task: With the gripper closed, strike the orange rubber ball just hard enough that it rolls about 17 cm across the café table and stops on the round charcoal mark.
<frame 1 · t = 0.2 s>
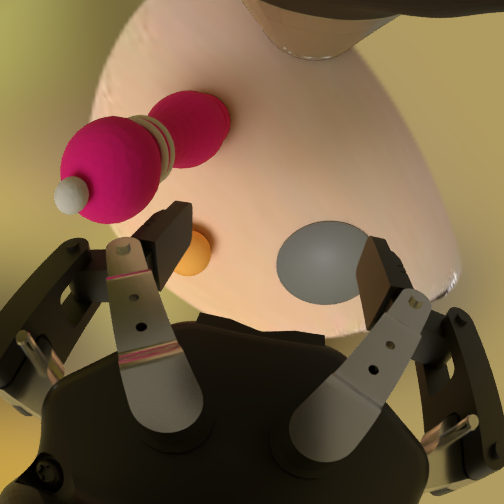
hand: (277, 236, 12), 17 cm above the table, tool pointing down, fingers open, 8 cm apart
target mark: (328, 267, 34), on the table
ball: (188, 253, 32), on the table
pepper mill: (202, 121, 26), on the table
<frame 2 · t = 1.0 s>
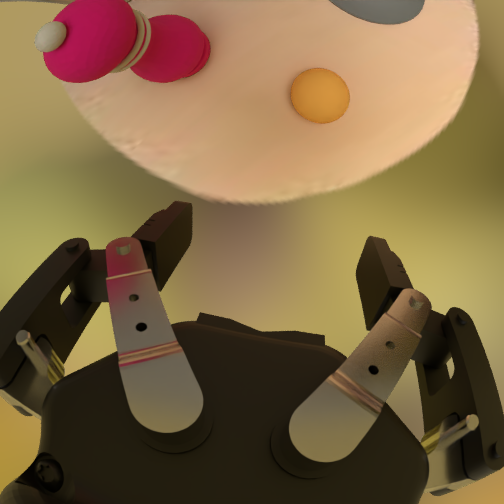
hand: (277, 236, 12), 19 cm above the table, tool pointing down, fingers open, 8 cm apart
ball: (320, 95, 22), on the table
pepper mill: (183, 52, 23), on the table
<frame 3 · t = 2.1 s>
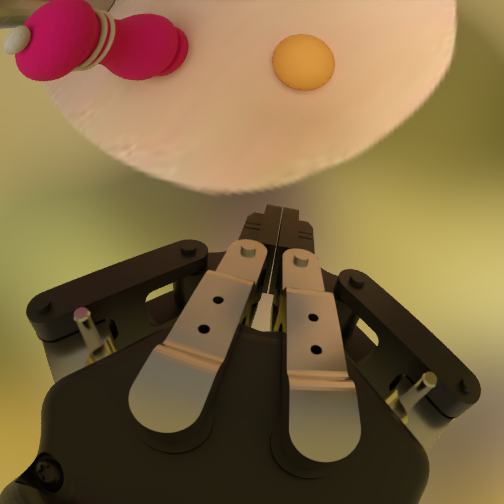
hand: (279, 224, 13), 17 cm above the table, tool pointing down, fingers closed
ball: (303, 61, 19), on the table
pepper mill: (162, 50, 22), on the table
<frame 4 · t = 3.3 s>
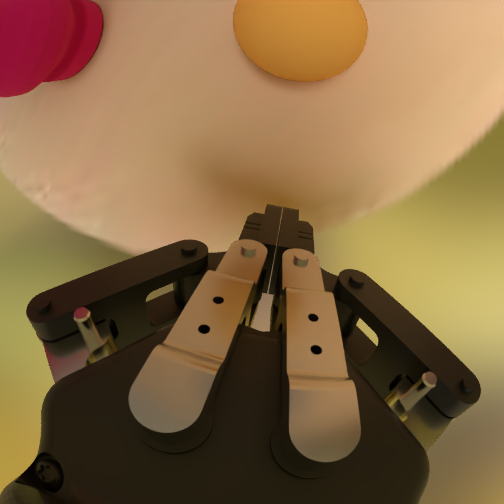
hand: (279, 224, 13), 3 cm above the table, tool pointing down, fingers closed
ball: (300, 23, 8), on the table
pepper mill: (72, 39, 11), on the table
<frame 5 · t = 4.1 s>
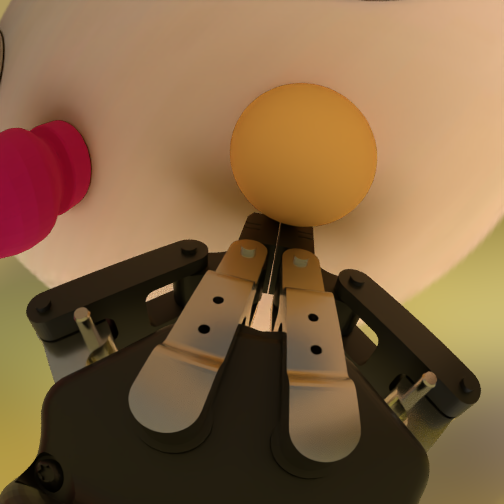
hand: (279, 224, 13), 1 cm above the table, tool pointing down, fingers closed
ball: (303, 154, 10), on the table, touching gripper
pepper mill: (62, 162, 15), on the table
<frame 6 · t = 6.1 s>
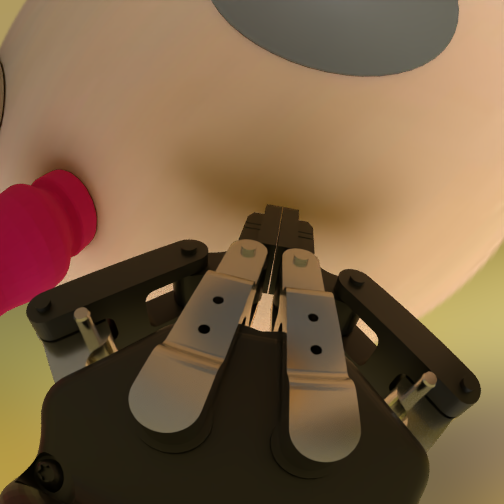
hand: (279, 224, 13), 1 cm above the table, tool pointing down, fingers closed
pepper mill: (68, 207, 17), on the table
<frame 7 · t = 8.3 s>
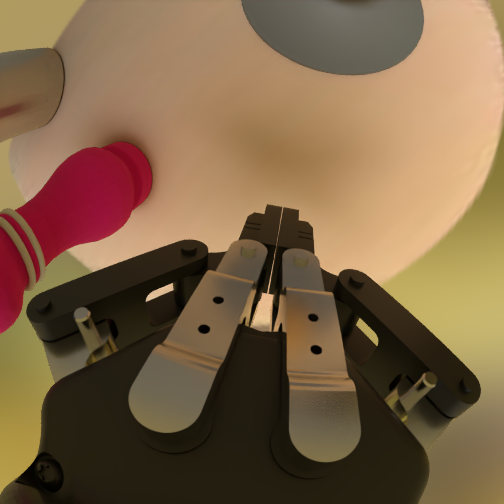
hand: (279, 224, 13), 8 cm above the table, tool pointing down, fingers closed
pepper mill: (125, 174, 22), on the table
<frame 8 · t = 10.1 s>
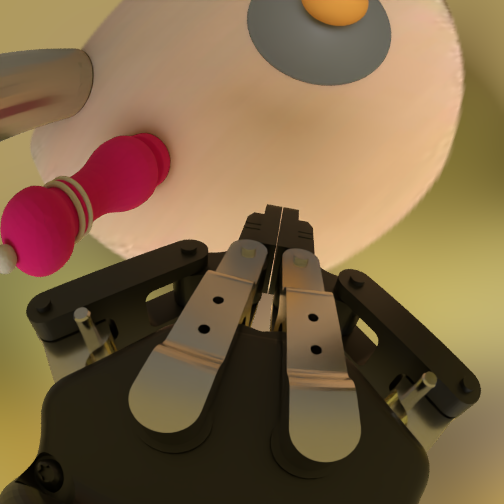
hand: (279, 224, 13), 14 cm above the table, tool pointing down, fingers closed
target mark: (320, 21, 17), on the table
pepper mill: (146, 160, 27), on the table
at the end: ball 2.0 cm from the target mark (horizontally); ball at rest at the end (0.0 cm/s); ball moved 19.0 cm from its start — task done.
